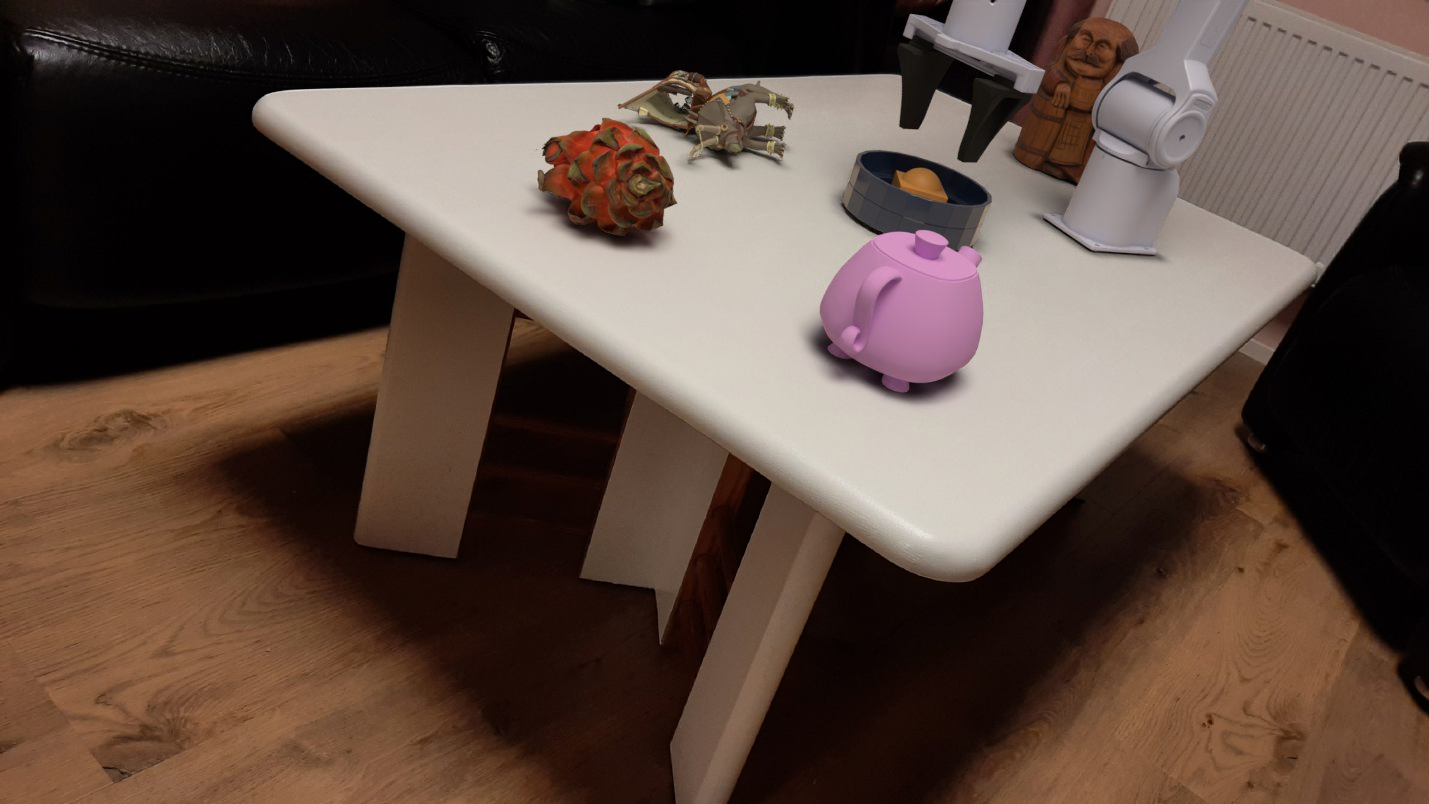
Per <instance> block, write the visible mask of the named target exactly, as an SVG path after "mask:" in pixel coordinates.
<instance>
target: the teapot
mask: <svg viewBox="0 0 1429 804" xmlns="http://www.w3.org/2000/svg"><path fill="white" fill-rule="evenodd" d="M947 245H948V241H947V239H945V238H944V237H943V236H941V235H940V234H937V233H935V232H932V231H928V230H918V231H916V234H912V233H907V232H889V233H882V234H879V235H876V236H875V237H873V238H872V239H870V240H869V241H868V242H866V244H864V245H863V246H862V247H860V249H858V250H857V251H856V252H855V253H854V254H853V255H852V256H851V257H850V258H849V259H848V260H847V261H846V262H845V263H844V264H843V265H842V266H841V267H840V268H839V269H838V271H837V272H836V273H835V275H834V276H833V278H832V279H831V281H830V283H829V284H828V286H827V288H826V290H825V292H824V294H823V296H822V298H821V301H820V303H819V315H820V320H821V323H822V325H823V329H824V330H825V333H826V335H827V337H828V338H829V339H830V341H831V342H832V343H831V344H830V345H828V346H827V351H828V352H829V353H830V354H831V355H833V356H834V357H837V358H839V359H843V360H844V359H845V360H851V359H853V360H855V361H856V362H858V363H860V364H862V365H864V366H866V367H867V368H870V369H872V370H874V371H876V372H878V373H880V374H882V378H881V383H882V385H883V386H884V387H886V388H887V389H889V390H891V391H893V392H895V393H907V392H908V391H909V390H910V383H916V384H927V383H933V382H936V381H940V380H942V379H945V378H947V377H949V376H950V375H953V374H954V373H956V372H958V371H959V370H961V369H962V368H964V367H966V365H967V364H969V363H970V362H971V360H972V359H973V358H974V357H975V355H976V353H977V350H978V348H979V344H980V341H981V336H982V330H983V325H984V300H983V291H982V290H983V289H982V282H981V277H980V273H979V270H978V267H979V265H980V264H981V263H982V261H983V257H982V255H981V254H980V252H978V251H977V250H976V249H974V248H972V247H971V246H970V247H967V246H962V247H961V248H960V249H959V250H952V249H951V248H949V247H947Z"/></svg>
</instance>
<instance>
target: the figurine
mask: <svg viewBox="0 0 1429 804" xmlns="http://www.w3.org/2000/svg"><path fill="white" fill-rule="evenodd" d="M707 81H708V79H706V78H705V76H704V75H702V74H700V73H698V72H692V71H691V72H688V71H684V70H681V69H678V70H673V71H672V72H671V73H669V75H667V76H666V78H664V79H662V80H661V81H659V82H658V83H656V84H655V85H653V86H652V87H650V88H649V89H647V90H645V91H644V92H641V93H640V94H637V95H636V96H634V97H632V98H631V99H628V100H627V101H625V102H623V103H618V104H617V108H618V110H620V109H625V110H630V111H633V112H636V113H637V116H638V117H641V116H646V117H649V118H651V119H653V120H654V121H657V122H658V123H660V124H663V125H666V126H668V127H671V128H672V129H675V130H677V131H680V130H682V129H684V130H686V132H685V134H684V135H683V138H686V136H687V134H688V133H689V132H690V130H691V129H693V128H694V132H695V135H696V136H697V138H696V140H695V141H696V142H698V141H700V143H698V144H696V145H694V146H693V147H692V149H691V151H690V152H689V160H692V159H695V158H699V156H700V155H702V152H703V149H704V148H706V147H707V148H708V149H710V150H711V151H712V150H714V151H720V150H722V149H724V150H725V151H726V152H728V153H731V154H734V155H737V154H738V152H742V150H744V148H748V149H750V150H753V151H759V152H760V151H762V152H763V151H764V152H767V154H769V155H770V156H771V155H772V154H773V155H775V154H776V155H777V156H779V158H780V159H782V160H783V159H784V155H785V151H786V148H785V147H786V145H787V143H786V142H784V140H783V139H784V138H785V134H786V131H785V130H786V128H787V126H786V125H781V126H779V125H778V126H777V125H776V126H775V125H774V124H771V123H770V122H768V124H764V125H755V122H756V118H757V113H758V110H757V105H756V104H766V105H767V107H770V108H772V107H774V108H775V109H776V110H777V111H779V109H780V111H782V110H784V112H785V113H786V114H787V119H788V120H789V121H791V120H792V116H793V114H794V109H795V105H794V103H792V102H791V101H789V100H790V99H791V97H789V96H786V95H783V93H780V92H777V93H775V92H774V91H771V90H770V89H768V88H766V87H764V86H761V80H757V81H756V84H754V83H749V82H748V83H744V84H737V85H731V86H728V87H725V88H723V89H721V90H719V91H717V92H716V93H714V94H713V91H712V89H711V87H710V86H709V83H708V82H707ZM670 94H671V95H674V96H676V97H677V96H678V94H679V95H683V96H686V97H684V101H685V102H684V103H683V105H681V106H680V103H679V102H675V103H674V101H673V100H672V98H671V97H670ZM756 137H764V138H765V139H768V138H770V139H772V138H775V139H777V140H780V142H781V143H780V142H779V143H778V142H777V141H776V140H769V141H768V142H764V141H759V140H754V139H752V138H756ZM782 142H783V143H782ZM698 152H699V153H698ZM695 153H698V155H695Z"/></svg>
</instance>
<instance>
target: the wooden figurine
mask: <svg viewBox="0 0 1429 804" xmlns="http://www.w3.org/2000/svg"><path fill="white" fill-rule="evenodd" d="M1139 53H1140V49H1139V44H1138V42H1137V39H1136V37H1135V35H1134V34H1133V32H1132V31H1131V30H1130V29H1129V28H1128V27H1127V26H1126V25H1124V24H1123V23H1121V22H1119V21H1116V20H1113V19H1111V18H1108V17H1103V16H1102V17H1100V16H1099V17H1097V16H1096V17H1089V18H1085V19H1082V20H1081V21H1078V22H1075V24H1073V25H1072V26H1071V27H1070V28H1069V30H1068V31H1067V34H1066V35H1064V36H1061V38H1059V40H1058V41H1057V42H1056V44H1055V46H1054V49H1053V51H1052V53H1051V55H1050V59H1049V61H1048V64H1047V67H1046V68H1045V69H1044V70H1045V73H1044V76H1043V78H1042V81H1041V84H1040V86H1039V88H1038V91H1037V93H1034V95H1033V97H1032V98H1033V99H1032V101H1031V104H1030V106H1029V108H1028V111H1027V113H1026V116H1025V118H1024V120H1023V124H1022V126H1021V129H1020V131H1019V135H1018V137H1017V141H1016V143H1015V146H1014V149H1013V155H1014V157H1015V158H1016V159H1017V160H1018V161H1019V162H1020V163H1021V164H1023V165H1025V166H1027V167H1028V168H1031V169H1032V170H1039V171H1041V172H1043V173H1045V174H1047V175H1051V176H1054V177H1056V178H1058V179H1060V180H1068V181H1071V182H1073V183H1075V184H1077V185H1078V183H1079V181H1080V178H1081V176H1082V174H1083V172H1084V169H1085V167H1086V165H1087V163H1088V160H1089V158H1090V156H1091V154H1092V152H1093V149H1094V147H1095V145H1096V143H1097V142H1096V141H1095V140H1093V139H1092V138H1093V136H1094V133H1095V131H1096V130H1095V128H1094V127H1093V124H1092V110H1093V106H1094V103H1095V101H1096V99H1097V97H1098V95H1099V94H1100V92H1101V91H1102V90H1103V88H1104V87H1105V86H1106V85H1107V84H1108V83H1109V82H1110V81H1111V80H1113V79H1114V77H1115V76H1116V75H1117V74H1118V72H1119V71H1120V69H1121V68H1122V66H1123V64H1124V62H1125V61H1126V60H1127V59H1128V58H1130V57H1132V56H1135V55H1137V54H1139Z"/></svg>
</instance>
